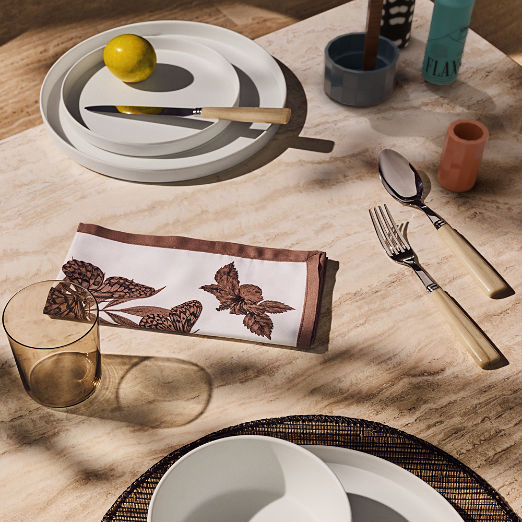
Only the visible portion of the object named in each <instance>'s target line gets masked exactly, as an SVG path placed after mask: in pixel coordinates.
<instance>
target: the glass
mask: <svg viewBox="0 0 522 522" xmlns="http://www.w3.org/2000/svg"><path fill="white" fill-rule="evenodd" d="M416 1H417V0H384V2H383V10H382V18H381V26H380V34H379V35H381V36H383V37H385V38H387V39H390V40H391V41H392V42H393V43H394V44H395V45H396V46H397V47H398V50H399V51H400V50H402V49H405V48H406V47H408V45H409V43H410V39H411V32H412V27H413V19H414V15H415V14H414V13H415V8H416ZM368 2H369V0H368ZM368 2H367V3H368ZM367 12H368V7H367V9H366V13H367ZM365 18H366V20H365V21H367V17H365ZM364 28H365V29H364V32H365V31H366V27H364Z"/></svg>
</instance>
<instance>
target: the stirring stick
mask: <svg viewBox="0 0 522 522" xmlns="http://www.w3.org/2000/svg"><path fill="white" fill-rule="evenodd" d="M383 2H384V0H369V2H367V8H368V12H367V11H366V18H367V21H366V20H365V21H366V22H365V28H366V31H365V30H364V32H365V41H364V50H363V60H362V69H363V71H373V70H375V67H376V59H377V51H378V42H379V34H380V26H381V18H382V10H383Z"/></svg>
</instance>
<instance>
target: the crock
mask: <svg viewBox="0 0 522 522" xmlns="http://www.w3.org/2000/svg"><path fill="white" fill-rule="evenodd" d="M489 137H490V132H489V129H488V127H487V125H485V124H483V123H482V122H480V121H479V120H474V119H472V118H471V119H470V118H460V119H459V118H458V119H457V120H456V119H455V120H454V121H452V122H450V123H449V125H448V127H447V129H446V133H445V137H444V142H443V146H442V149H441V155H440V158H439V164H438V168H437V175H436V180H437V182H438V184H439V185H440V186H441V187H442V188H444V189H445V190H447V191H450V192H454V193H463V192H467V191H469V190H471V189H473V187H475V184H476V181H477V179H478V176H479V173H480V169H481V166H482V162H483V158H484V156H485V152H486V149H487V146H488V145H487V144H488V141H489Z"/></svg>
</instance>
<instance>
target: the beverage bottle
mask: <svg viewBox="0 0 522 522" xmlns="http://www.w3.org/2000/svg"><path fill="white" fill-rule="evenodd" d="M475 3H476V0H434V2H433V8H432V14H431V19H430V24H429V30H428V36H427V39H426V44H425V47H424V53H423V57H422V62H421V71H420V73H421V76H422V78H423V79H424V80H425V81H427V82H428V83H431V84H434V85H442V86H443V85H449V84H451V83H454V82H455V81H456V80H457V78H458V77H459V75H460V69H461V67H462V63H463V61H462V60H463V56H464V54H465V49H466V43H467V41H468V40H467V37H468V34H469V29H470V27H471V21H472V18H473V17H472V15H473V9H474V5H475Z"/></svg>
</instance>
